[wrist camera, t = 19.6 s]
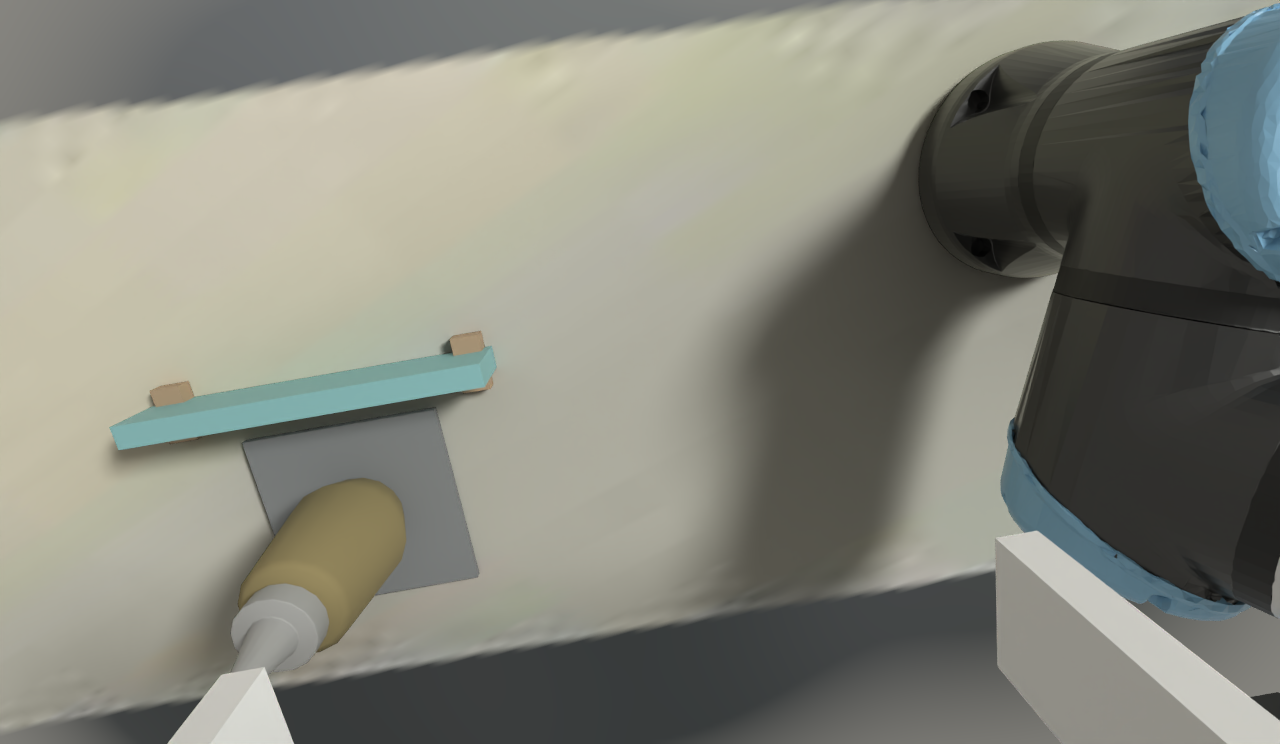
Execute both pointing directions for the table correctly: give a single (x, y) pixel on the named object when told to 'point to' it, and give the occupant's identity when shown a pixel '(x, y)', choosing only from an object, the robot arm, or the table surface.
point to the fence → (307, 396)
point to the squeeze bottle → (318, 574)
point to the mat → (392, 455)
